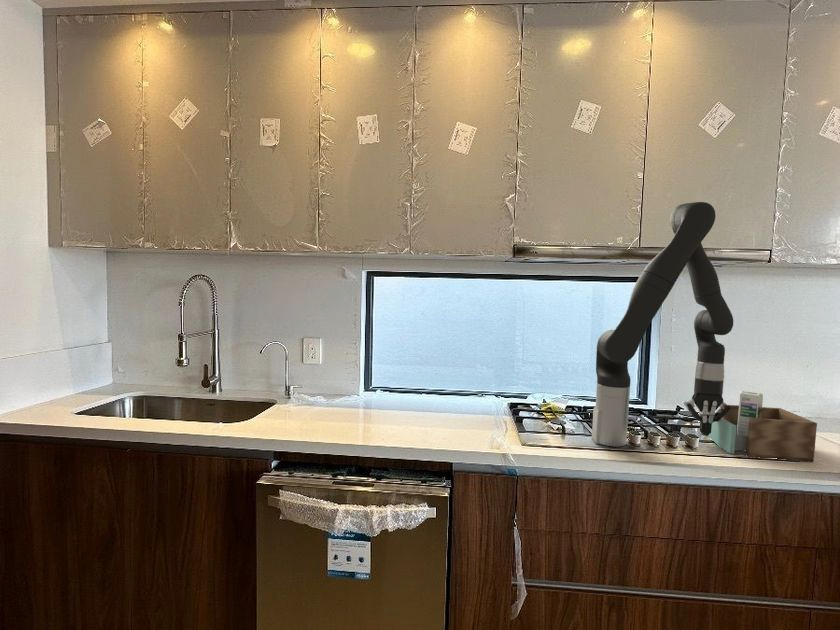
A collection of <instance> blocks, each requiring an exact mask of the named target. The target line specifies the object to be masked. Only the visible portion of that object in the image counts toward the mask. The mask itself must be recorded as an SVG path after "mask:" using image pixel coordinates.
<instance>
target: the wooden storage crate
mask: <svg viewBox="0 0 840 630" xmlns="http://www.w3.org/2000/svg"><path fill="white" fill-rule="evenodd" d="M727 405H728V406H730V407H731V409H730V410H729V411H728V412H727V413H726V414H725V415H724V416H723V417H722V418H723V419H725V420H726V421H728V422H730V423H732V424H734V425H738V413H739V404H738V405H737V404H736V405H735V404H727ZM817 426H818V423H817V422H815V421H814V420H810V419H809V418H808V419H807V418H805V417H803V416H800V415H798V414H796V413H793V412H792V411H791V412H790V411H788V410H786V409H783V408H781V407H767V406H762V415H761V418H749V429H748V441H747V450H746V451H747V452H745V453H746V454H745V456H746V455H747V456H748V457H752V459H761V458H777V459H786V460H785V461H788V460H798V461H797V462H803V463H804V462H805V463H814V459H815V449H816V441H817V440H816V437H817V428H818V427H817ZM747 456H746V457H747ZM748 457H747V458H748ZM753 457H755V458H753ZM758 457H760V458H758Z"/></svg>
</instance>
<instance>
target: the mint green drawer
mask: <svg viewBox="0 0 840 630" xmlns="http://www.w3.org/2000/svg"><path fill="white" fill-rule="evenodd" d="M708 437H709V438H711V439H712V440H713V441H714V442H715V443H716V444H717V446H718V447H719V446H720V447H719V448H721V447H722V448H723V449H722V448H721V449H722V450H724V451H725V450H726V452H727V453H728V452H729V453H728V454H730V453H732V454H731V455H733V454H734V455H735V450H736V451H744V450H747V441H748V436H739V435H737V425H734V424H732V423H730V422H728V421H726V420H725V419H723V418H721V419H720V420H719V421H718V422H713V423H712V429H711V433H710V434H709V435H707V438H708ZM715 443H714V444H715ZM716 444H715V445H716Z"/></svg>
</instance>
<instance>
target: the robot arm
mask: <svg viewBox="0 0 840 630" xmlns="http://www.w3.org/2000/svg"><path fill="white" fill-rule="evenodd" d="M669 219H670V226H671V228H672V231H673V234H674V235H673V237H672V238H671V240H670V242H669V243H668V244H667V245H666V246H665V247H664V248H663V249H662V250H661V251H660V252H659V253H658V254H657V255H655V256H654V257H653V258H652V259H651V260H650V261H649V262H648V264H646V266H645V267H644V268H643V270H642V272H641V273H640V275H639V277H638V278H637V280H636V282H635V284H634V286H633V288H632V292H631V295H630V298H629V302H628V305H627V309H626V311H625V313H624V315H623V317H622V319H621V320H620V322H619V323H618V325H617V326H615V329H609V330H606V331H604V332H603V333H602V334H601V335H600V336H599V338H598V340H597V343H596V352H595V354H596V357H595V358H596V359H595V374H596V379H597V380H596V393H595V406H594V407H593V412H592V427H591V439H592V440H593V442H594V443H595V444H598V445H603V446H606V447H607V446H608V447H623V446H626V445H627V438H628V422H629V409H630V408H629V406H630V392H631V376H630V373H629V366H628V365H629V364H628V363H629V361H630V360H632V358H633V357H634V356H635V355H636V353H637V351H638V348H639V347H640V344H641V342H642V339H643V338H644V336H645V333H646V331H647V330H648V327H649V326H650V324H651V322H652V321H653V319H654V318H655V316H656V314H658V311H659V310H660V309H661V306H662V305H663V304H664V302H665V300H666V299H667V297H668V295H669V294H670V292H671V291H672V289H673V287H674V286H675V284H676V282H677V280H678V279H679V278H680V275H681V273H682V272H683V270H684V268H685V267H686V268H687V271H688V275H689V280H690V283H691V287H692V293H693V297H694V300H695V303H696V304H698V305H700V306H702V307H703V308H705V309H703V310H701V311H699V312H697V314H696V316H695V318H694V321H693V322H694V323H693V328H694V334H695V338H696V343H697V359H696V365H695V372H694V373H695V374H694V375H695V376H694V388H693V392H694V393H693V395H692V396H691V399H690V400H688V401H684V403H683V405H684V406H685V408H686V409H687V411H688V412H689V413H690V415H691V416H692V417H693V418H694V419H695V420H697V421H699V432H700V433H701V435H703V436H708V435H709V434H710V433H711V429H712V423H713V422H718V421H719V420H720V419H721V418H722V417H723V416H724V415H725V414H726V413H727V412H728V411H729V410H730V409H731V407H730V406H728V405H729V404H727V403H725V402H724V398H723V394H724V391H723V390H724V382H725V381H724V380H725V357H726V356H725V354H726V348H725V346H724V344H723V343H720V342H718V340H717V339H716V336H726V335H728V334H729V333H730V332H732V330H733V327H734V317H733V314H732V312H731V309H730V308H729V306H728V304H727V302H726V300H725V298H724V297H723V295H722V291H721V286H720V281H719V276H718V273H717V271H716V269H715V267H714V265H713V263H712V262H711V260H710V258H709V257H708V255H707V253H706V251H705V249H704V246H703V243H702V242H703V240H704V239H705V238H706V236H707V235H708V233H710V231H711V230H712V228H713V226H714V224H715V220H716V210H715V208H714V207H713V205H712V204H710V203H709V202H706V201H695V202H694V201H693V202H685V203H682V204H679V205H677V206H675V208H673V210H672V212H671V214H670V218H669ZM695 407H696V408H697V409H698V412H697V411H696V409H695Z"/></svg>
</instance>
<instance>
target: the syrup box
mask: <svg viewBox="0 0 840 630" xmlns="http://www.w3.org/2000/svg"><path fill="white" fill-rule="evenodd" d="M763 400H764V396H763V393H762V392H753V391H746V390H744V391H743V390H740V391H739V401H738V405H739V413H738V425H737V435H739V436H748V429H749V418H761V415H762V407H763V402H764V401H763Z"/></svg>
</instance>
